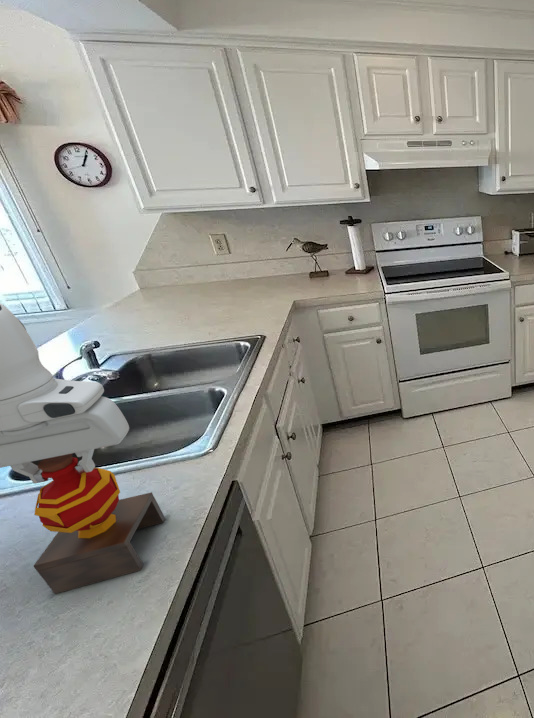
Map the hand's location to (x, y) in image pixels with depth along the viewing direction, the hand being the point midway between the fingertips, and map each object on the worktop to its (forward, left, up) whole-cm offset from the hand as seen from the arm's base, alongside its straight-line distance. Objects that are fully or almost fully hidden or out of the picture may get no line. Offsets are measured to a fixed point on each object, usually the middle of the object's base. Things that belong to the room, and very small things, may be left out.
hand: (66, 475), depth 67 cm
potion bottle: (0, 0, -12) cm, 12 cm away
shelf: (0, 0, -19) cm, 19 cm away
